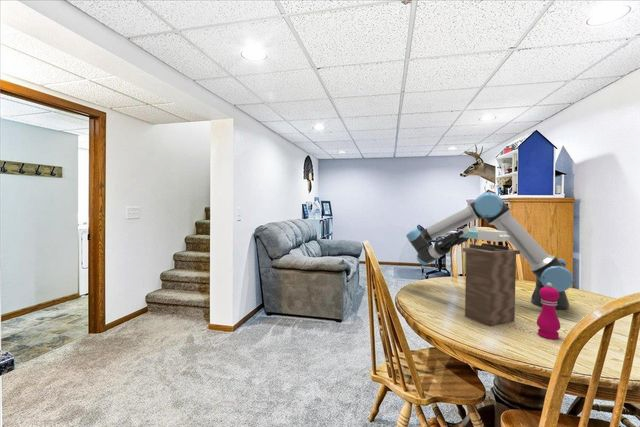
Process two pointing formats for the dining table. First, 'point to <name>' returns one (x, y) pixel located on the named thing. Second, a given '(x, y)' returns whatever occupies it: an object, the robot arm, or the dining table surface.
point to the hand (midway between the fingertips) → (472, 228)
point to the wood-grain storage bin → (490, 283)
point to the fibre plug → (487, 235)
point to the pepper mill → (548, 313)
